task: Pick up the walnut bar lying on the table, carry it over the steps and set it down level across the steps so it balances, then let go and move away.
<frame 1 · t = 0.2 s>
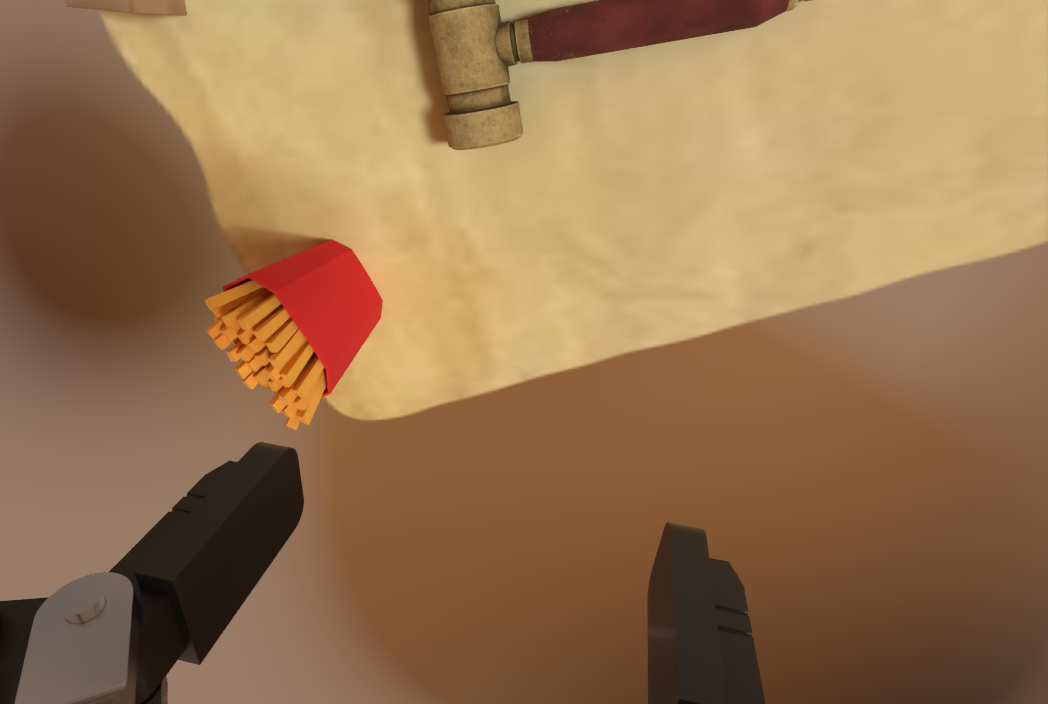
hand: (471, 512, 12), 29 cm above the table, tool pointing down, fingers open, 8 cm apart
gavel: (616, 25, 33), on the table
french fries: (350, 286, 44), on the table
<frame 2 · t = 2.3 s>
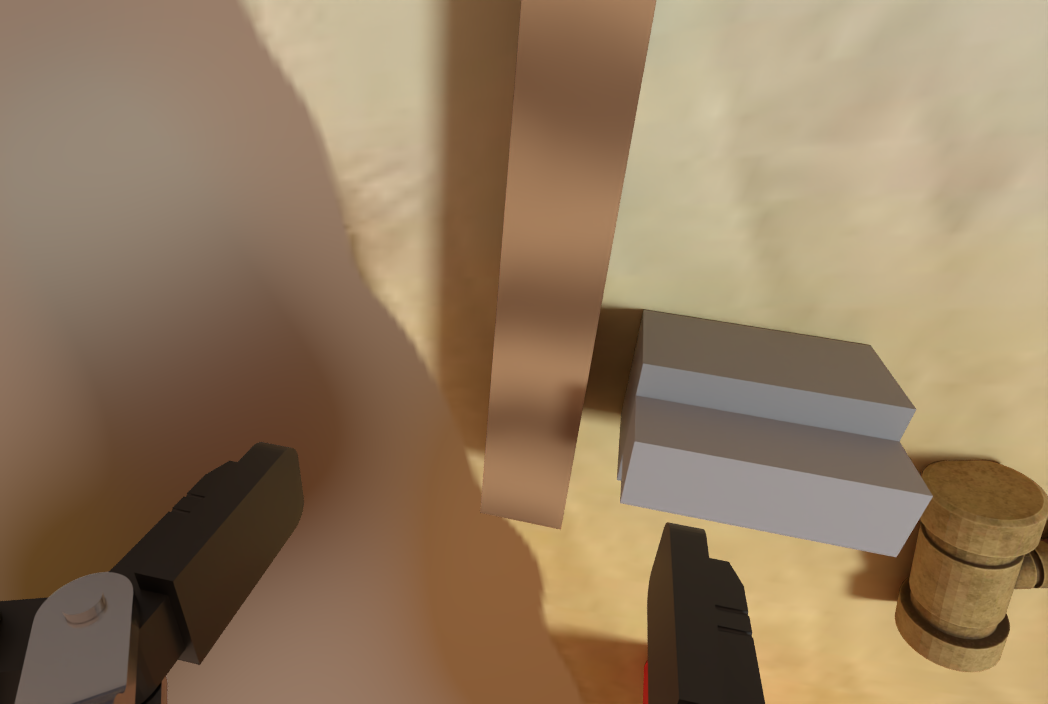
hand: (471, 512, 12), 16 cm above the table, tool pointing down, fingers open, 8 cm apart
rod: (564, 253, 26), on the table
steps: (736, 382, 28), on the table
french fries: (685, 682, 39), on the table
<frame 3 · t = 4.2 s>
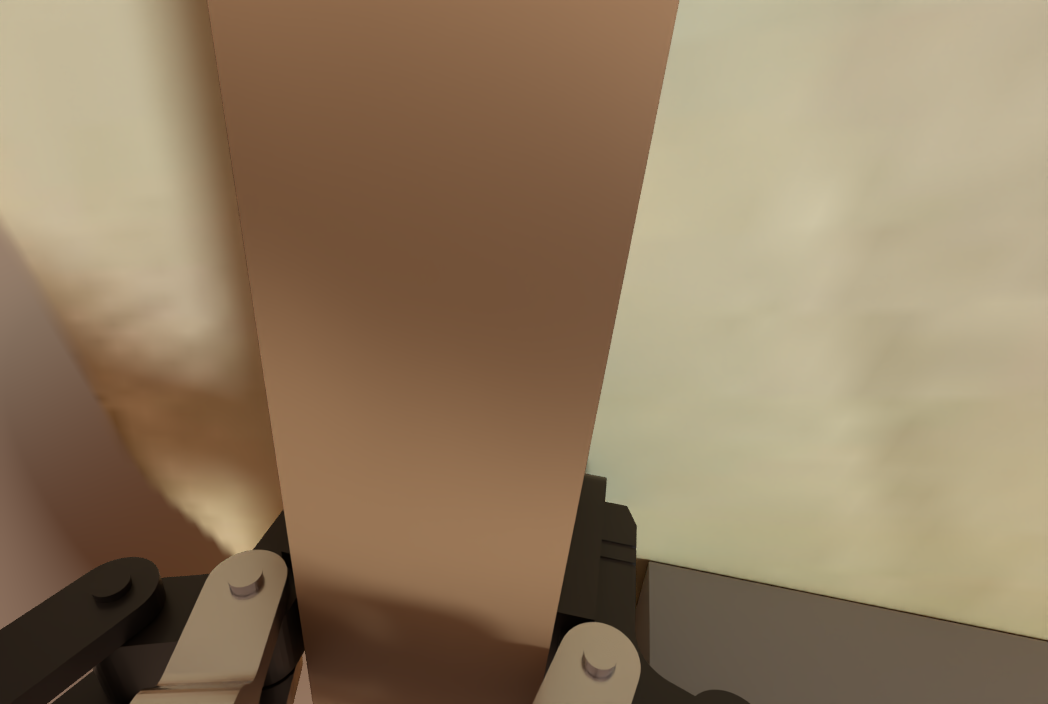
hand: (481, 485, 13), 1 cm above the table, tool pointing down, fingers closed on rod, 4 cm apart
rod: (489, 466, 14), on the table, touching gripper
steps: (821, 679, 15), on the table
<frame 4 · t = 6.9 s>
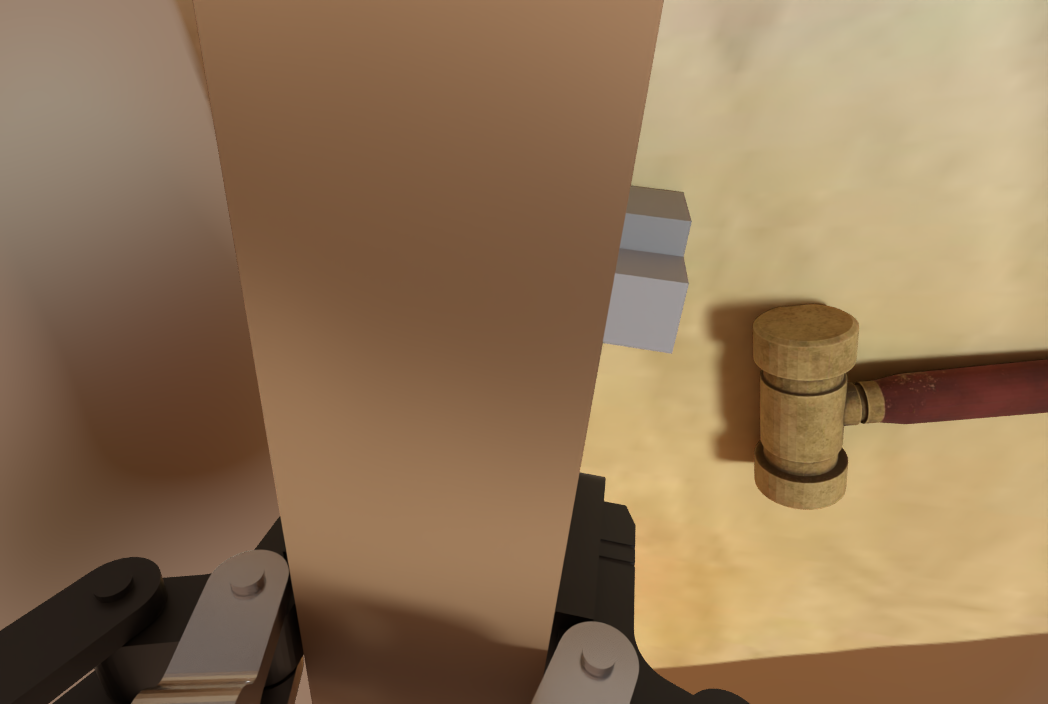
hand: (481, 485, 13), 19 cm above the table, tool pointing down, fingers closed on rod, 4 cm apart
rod: (488, 469, 14), point 18 cm above the table, touching gripper
gavel: (959, 372, 30), on the table
steps: (572, 238, 30), on the table
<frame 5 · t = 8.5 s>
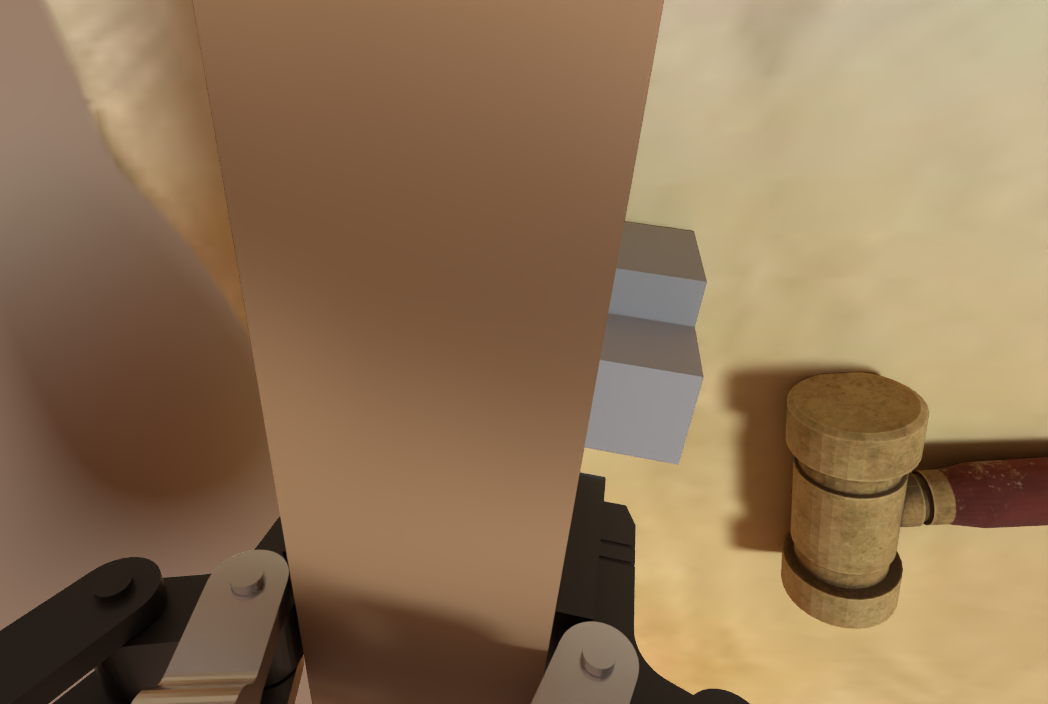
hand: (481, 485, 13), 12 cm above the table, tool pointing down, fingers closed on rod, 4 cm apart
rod: (488, 469, 14), point 11 cm above the table, touching gripper
gavel: (1045, 456, 24), on the table
steps: (551, 285, 23), on the table
when the fingers open (9 cm above the table, at t = 9.6 s): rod stays where it is, resting on steps.
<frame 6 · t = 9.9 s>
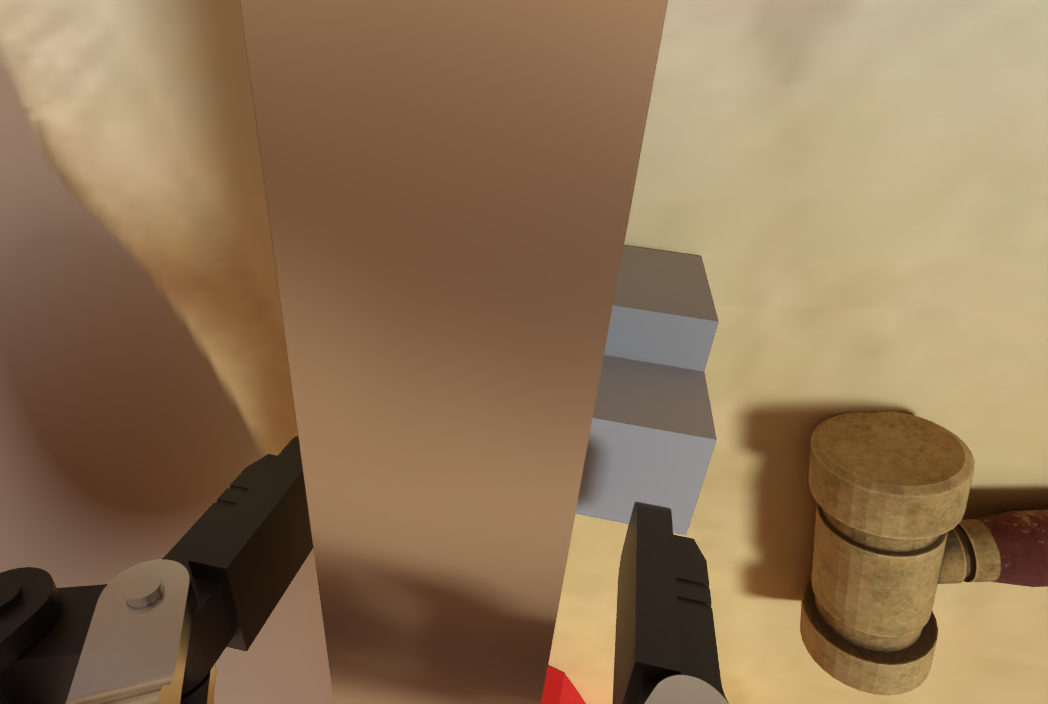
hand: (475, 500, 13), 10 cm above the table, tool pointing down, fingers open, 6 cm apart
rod: (496, 451, 14), point 8 cm above the table, touching steps
steps: (542, 314, 21), on the table
french fries: (551, 699, 33), on the table
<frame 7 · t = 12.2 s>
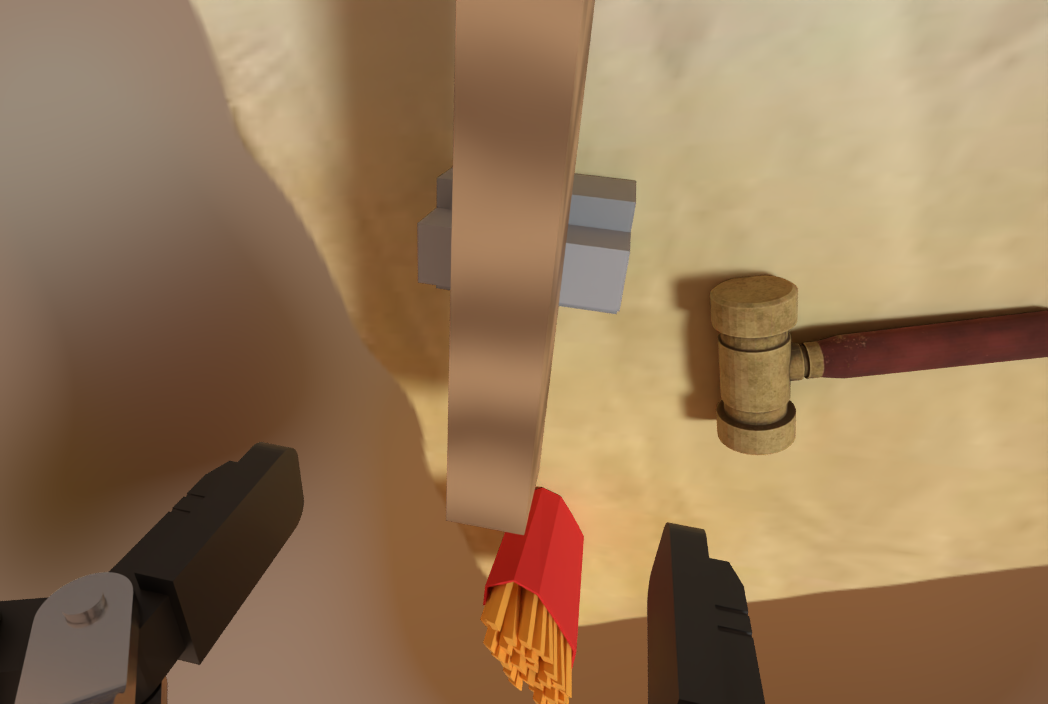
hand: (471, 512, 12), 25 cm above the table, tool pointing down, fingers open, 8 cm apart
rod: (520, 267, 27), point 8 cm above the table, touching steps
gavel: (891, 334, 35), on the table
steps: (543, 222, 34), on the table
french fries: (551, 522, 46), on the table
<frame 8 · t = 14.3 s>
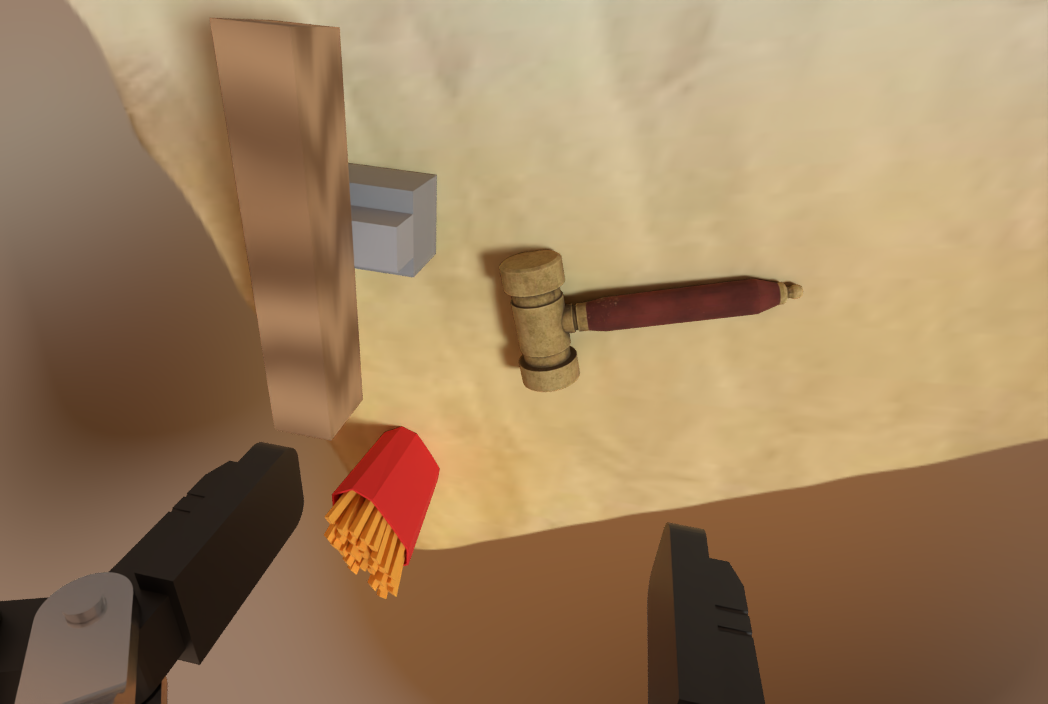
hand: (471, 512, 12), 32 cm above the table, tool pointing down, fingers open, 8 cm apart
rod: (323, 239, 37), point 8 cm above the table, touching steps
gavel: (650, 298, 44), on the table
steps: (372, 206, 44), on the table
french fries: (413, 457, 55), on the table
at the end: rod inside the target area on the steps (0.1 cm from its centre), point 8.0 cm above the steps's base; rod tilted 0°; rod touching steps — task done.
